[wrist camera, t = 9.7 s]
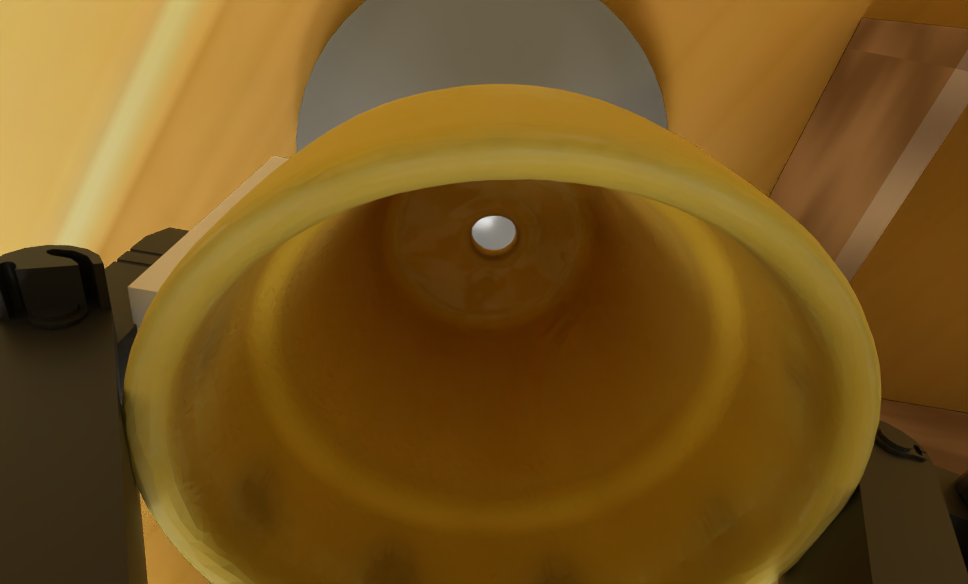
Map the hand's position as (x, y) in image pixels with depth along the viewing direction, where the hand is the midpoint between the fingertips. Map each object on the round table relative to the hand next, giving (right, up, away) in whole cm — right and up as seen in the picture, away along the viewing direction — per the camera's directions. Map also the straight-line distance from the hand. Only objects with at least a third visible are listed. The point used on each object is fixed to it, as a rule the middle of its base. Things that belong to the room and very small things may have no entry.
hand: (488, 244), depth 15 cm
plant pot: (0, +1, +1) cm, 2 cm away
